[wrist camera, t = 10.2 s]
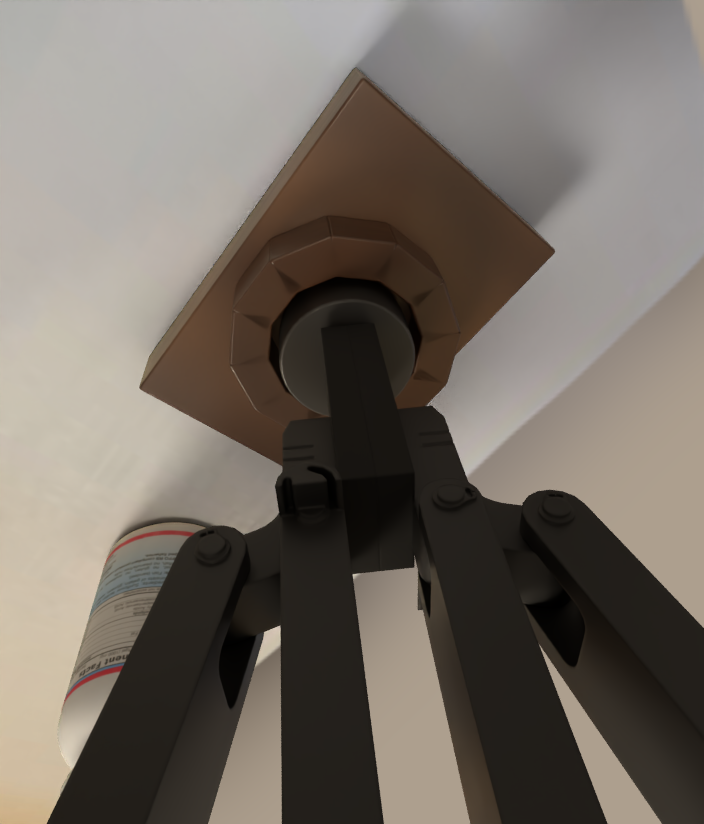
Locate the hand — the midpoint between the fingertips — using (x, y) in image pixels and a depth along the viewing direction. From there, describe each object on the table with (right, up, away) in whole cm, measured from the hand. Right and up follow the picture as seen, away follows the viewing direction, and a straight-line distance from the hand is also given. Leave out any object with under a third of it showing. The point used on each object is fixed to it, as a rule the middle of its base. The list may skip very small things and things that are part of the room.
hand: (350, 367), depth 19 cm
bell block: (-1, +3, +4) cm, 5 cm away
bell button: (0, +1, +2) cm, 2 cm away
